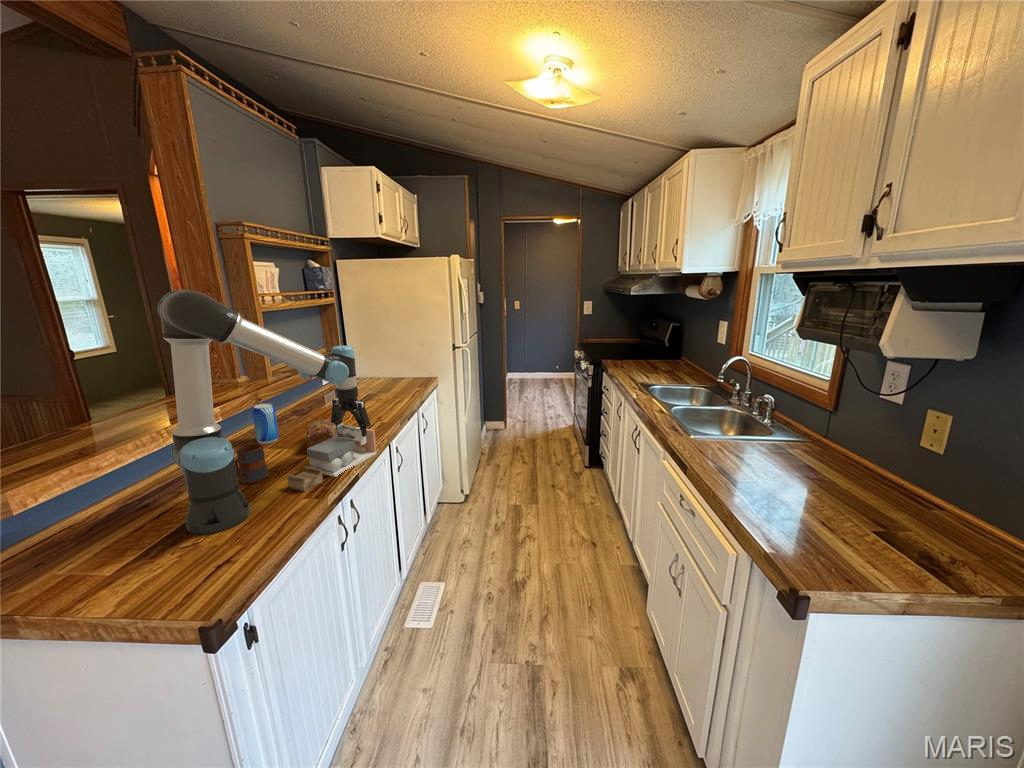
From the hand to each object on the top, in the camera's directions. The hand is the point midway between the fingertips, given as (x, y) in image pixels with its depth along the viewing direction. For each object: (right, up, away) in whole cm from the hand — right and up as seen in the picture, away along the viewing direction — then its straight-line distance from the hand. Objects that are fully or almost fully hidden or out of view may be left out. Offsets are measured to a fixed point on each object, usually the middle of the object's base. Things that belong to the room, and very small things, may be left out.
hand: (352, 442), depth 158 cm
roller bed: (-2, -7, -3) cm, 8 cm away
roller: (0, +4, -1) cm, 4 cm away
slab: (-4, -2, -9) cm, 10 cm away
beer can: (-43, -2, +17) cm, 47 cm away
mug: (-28, -11, -18) cm, 35 cm away
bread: (-18, -3, +14) cm, 23 cm away
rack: (-8, -12, -20) cm, 25 cm away
